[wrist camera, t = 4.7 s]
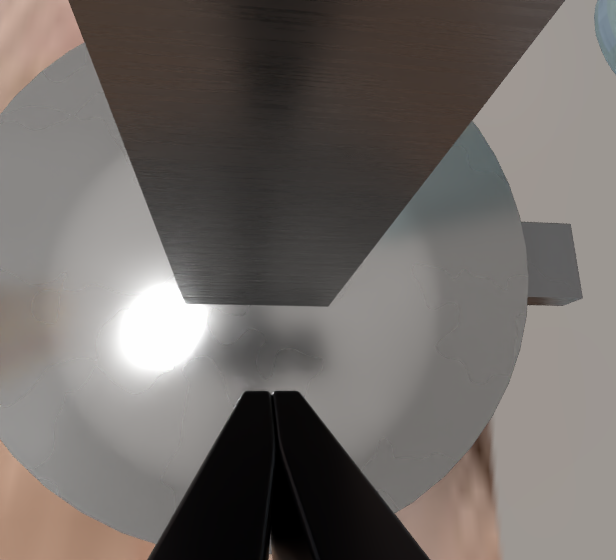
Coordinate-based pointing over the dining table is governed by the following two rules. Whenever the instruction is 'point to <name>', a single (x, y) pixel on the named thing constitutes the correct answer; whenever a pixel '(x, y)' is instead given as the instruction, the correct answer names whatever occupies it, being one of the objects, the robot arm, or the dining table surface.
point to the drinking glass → (606, 30)
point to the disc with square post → (257, 240)
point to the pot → (551, 264)
